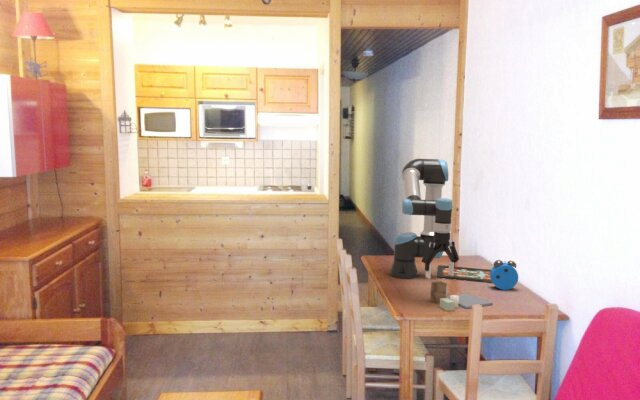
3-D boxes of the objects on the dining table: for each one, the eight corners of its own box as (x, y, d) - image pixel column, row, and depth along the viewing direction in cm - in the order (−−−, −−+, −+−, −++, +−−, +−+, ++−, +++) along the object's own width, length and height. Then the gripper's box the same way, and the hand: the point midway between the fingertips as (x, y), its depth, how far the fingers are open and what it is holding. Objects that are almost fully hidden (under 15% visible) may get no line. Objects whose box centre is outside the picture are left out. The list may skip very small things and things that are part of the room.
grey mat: (443, 298, 257) (443, 296, 257) (468, 295, 264) (468, 293, 264) (466, 309, 243) (466, 306, 243) (492, 304, 250) (492, 302, 250)
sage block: (439, 306, 245) (440, 298, 245) (447, 306, 246) (447, 297, 246) (446, 311, 239) (447, 302, 239) (454, 310, 241) (454, 302, 240)
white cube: (435, 295, 263) (436, 287, 262) (440, 293, 266) (440, 285, 265) (442, 297, 260) (442, 289, 260) (447, 295, 263) (447, 287, 262)
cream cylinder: (447, 305, 247) (448, 295, 246) (454, 304, 249) (455, 294, 248) (453, 308, 243) (454, 297, 243) (460, 307, 245) (461, 296, 245)
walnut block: (430, 300, 254) (431, 281, 253) (438, 299, 256) (439, 280, 255) (437, 303, 250) (438, 284, 249) (445, 302, 252) (446, 283, 251)
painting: (436, 268, 320) (436, 264, 320) (497, 273, 313) (497, 269, 313) (436, 279, 293) (437, 275, 293) (503, 285, 286) (504, 280, 286)
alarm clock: (514, 287, 280) (516, 259, 278) (517, 291, 274) (520, 262, 272) (488, 286, 281) (490, 258, 279) (491, 289, 275) (493, 261, 273)
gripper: (425, 234, 240) (423, 280, 242) (468, 231, 251) (465, 276, 254) (415, 231, 246) (413, 276, 249) (457, 229, 258) (454, 272, 260)
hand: (439, 276), depth 251 cm, fingers open, 13 cm apart
